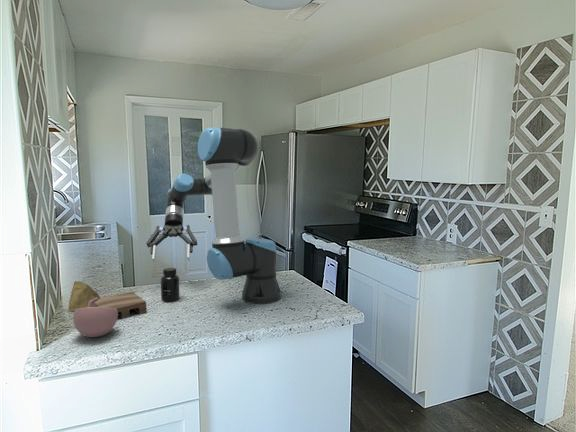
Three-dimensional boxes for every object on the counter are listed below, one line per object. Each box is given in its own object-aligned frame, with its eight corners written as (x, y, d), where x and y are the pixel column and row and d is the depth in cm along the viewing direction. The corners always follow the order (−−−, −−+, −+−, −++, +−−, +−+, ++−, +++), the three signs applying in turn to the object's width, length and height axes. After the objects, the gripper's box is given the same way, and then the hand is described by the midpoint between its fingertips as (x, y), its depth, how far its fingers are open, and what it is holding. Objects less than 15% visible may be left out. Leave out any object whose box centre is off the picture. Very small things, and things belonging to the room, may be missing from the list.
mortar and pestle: (123, 325, 123) (121, 291, 121) (112, 342, 111) (110, 304, 110) (83, 328, 121) (80, 293, 119) (68, 345, 109) (65, 307, 108)
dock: (146, 312, 134) (146, 301, 133) (103, 323, 125) (103, 311, 124) (133, 301, 144) (132, 291, 144) (93, 310, 136) (92, 300, 135)
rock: (107, 294, 146) (79, 292, 145) (103, 281, 140) (74, 278, 139) (97, 319, 138) (68, 317, 137) (93, 307, 132) (62, 304, 131)
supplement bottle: (163, 303, 143) (161, 272, 141) (160, 298, 149) (158, 268, 147) (181, 300, 146) (180, 270, 144) (178, 295, 152) (176, 266, 150)
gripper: (203, 222, 172) (203, 263, 159) (145, 224, 168) (140, 265, 155) (202, 212, 166) (202, 253, 153) (142, 213, 162) (136, 256, 149)
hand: (171, 259), depth 154 cm, fingers open, 13 cm apart
